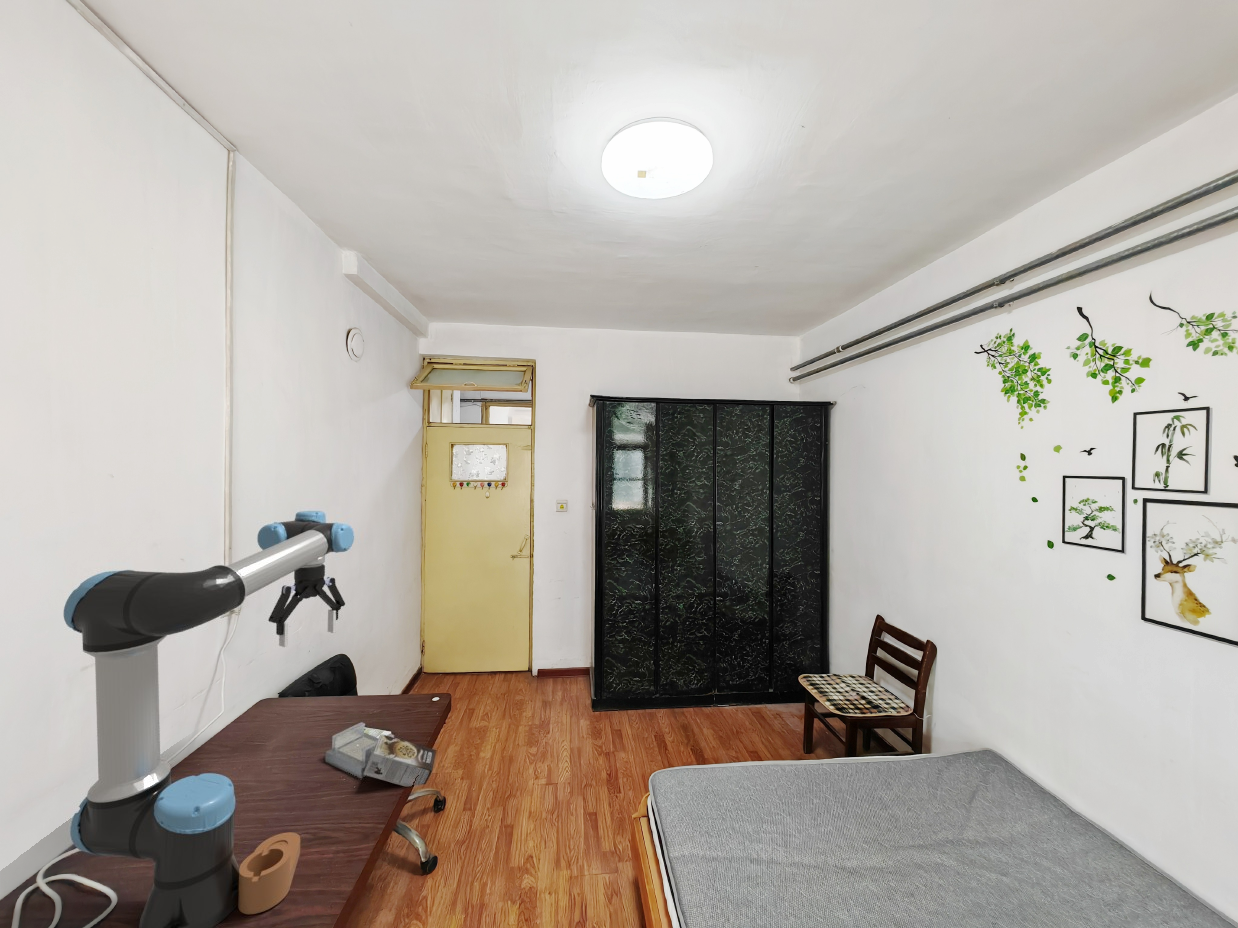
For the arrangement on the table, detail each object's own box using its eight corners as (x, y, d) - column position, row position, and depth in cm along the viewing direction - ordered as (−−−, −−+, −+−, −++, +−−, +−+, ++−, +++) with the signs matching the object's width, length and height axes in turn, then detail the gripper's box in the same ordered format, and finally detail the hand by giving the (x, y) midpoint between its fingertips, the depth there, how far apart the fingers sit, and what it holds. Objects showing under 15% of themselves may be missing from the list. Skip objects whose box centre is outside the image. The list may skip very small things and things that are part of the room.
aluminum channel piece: (361, 779, 135) (361, 753, 135) (325, 762, 142) (325, 737, 142) (399, 757, 145) (399, 733, 145) (364, 742, 153) (364, 719, 153)
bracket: (284, 905, 96) (285, 869, 96) (232, 919, 93) (232, 882, 93) (303, 840, 113) (304, 809, 113) (259, 850, 110) (260, 819, 110)
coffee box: (381, 732, 138) (437, 748, 142) (370, 754, 138) (426, 769, 142) (373, 752, 129) (433, 769, 133) (362, 775, 129) (422, 792, 133)
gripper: (269, 574, 131) (268, 655, 131) (358, 559, 153) (357, 628, 153) (254, 570, 134) (252, 649, 134) (343, 557, 156) (342, 624, 156)
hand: (308, 638), depth 143 cm, fingers open, 13 cm apart
